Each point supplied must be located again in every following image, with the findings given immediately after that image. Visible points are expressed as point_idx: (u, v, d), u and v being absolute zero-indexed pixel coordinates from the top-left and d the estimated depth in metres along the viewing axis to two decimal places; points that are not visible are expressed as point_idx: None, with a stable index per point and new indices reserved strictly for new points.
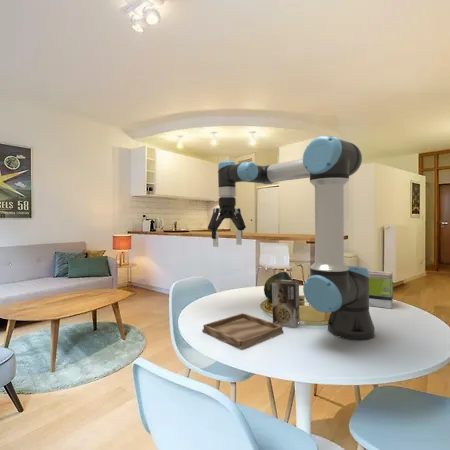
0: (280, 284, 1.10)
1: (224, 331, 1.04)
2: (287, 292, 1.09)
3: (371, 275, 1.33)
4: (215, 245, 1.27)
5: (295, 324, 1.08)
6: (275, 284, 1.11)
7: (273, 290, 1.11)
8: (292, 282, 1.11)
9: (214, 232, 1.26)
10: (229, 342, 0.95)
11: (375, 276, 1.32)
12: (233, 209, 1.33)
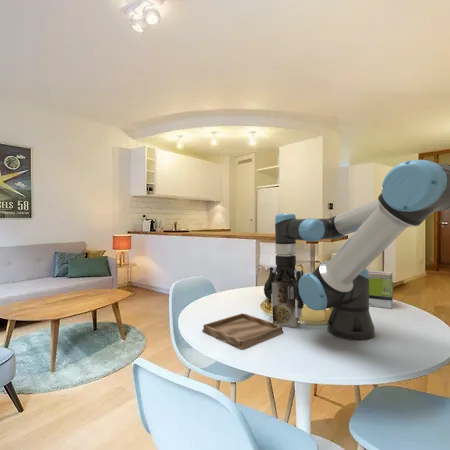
0: (280, 284, 1.10)
1: (224, 331, 1.04)
2: (287, 292, 1.09)
3: (371, 275, 1.33)
4: None
5: (295, 324, 1.08)
6: (275, 284, 1.11)
7: (273, 290, 1.11)
8: None
9: (271, 294, 1.17)
10: (229, 342, 0.95)
11: (375, 276, 1.32)
12: (289, 270, 1.10)
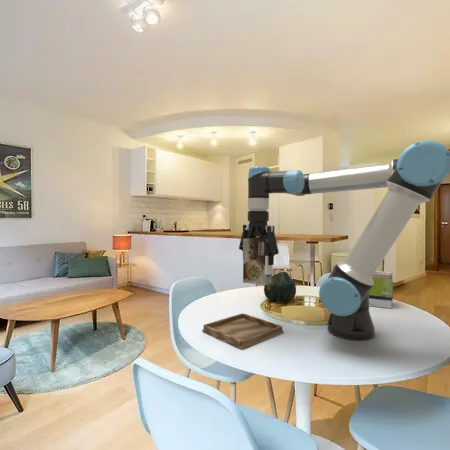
0: (251, 240, 1.06)
1: (224, 331, 1.04)
2: (258, 248, 1.04)
3: None
4: None
5: (265, 281, 1.04)
6: (246, 240, 1.07)
7: (244, 246, 1.07)
8: None
9: None
10: (229, 342, 0.95)
11: (375, 276, 1.32)
12: (261, 225, 1.05)
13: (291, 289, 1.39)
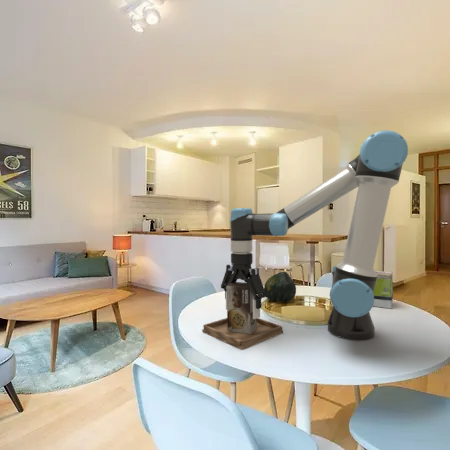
0: (234, 287, 1.03)
1: (224, 331, 1.04)
2: (242, 296, 1.01)
3: None
4: None
5: (250, 330, 1.01)
6: (229, 287, 1.03)
7: (227, 293, 1.04)
8: (247, 285, 1.03)
9: (225, 292, 1.10)
10: (229, 342, 0.95)
11: None
12: (244, 269, 1.02)
13: (291, 289, 1.39)
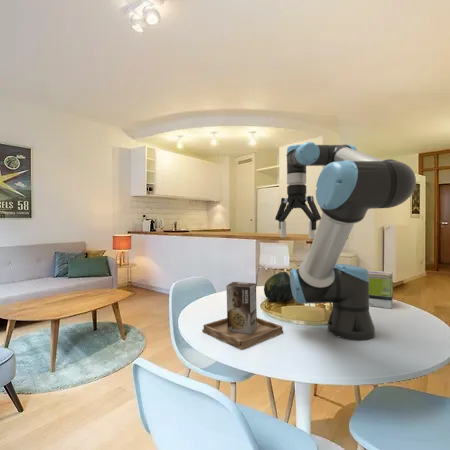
0: (234, 287, 1.03)
1: (224, 331, 1.04)
2: (242, 296, 1.01)
3: (371, 275, 1.33)
4: None
5: (250, 330, 1.01)
6: (229, 287, 1.03)
7: (227, 293, 1.04)
8: (247, 285, 1.03)
9: (280, 222, 1.26)
10: (229, 342, 0.95)
11: (375, 276, 1.32)
12: (300, 197, 1.17)
13: None
